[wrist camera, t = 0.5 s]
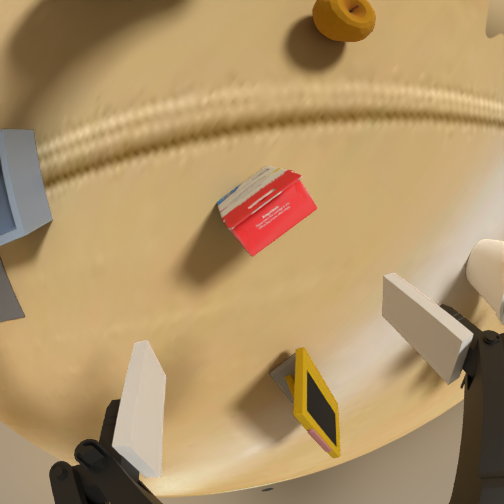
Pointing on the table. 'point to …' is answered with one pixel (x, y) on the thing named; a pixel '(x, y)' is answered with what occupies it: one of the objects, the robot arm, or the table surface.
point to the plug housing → (20, 186)
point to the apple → (344, 19)
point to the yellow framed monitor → (310, 400)
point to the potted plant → (488, 273)
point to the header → (8, 299)
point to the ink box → (265, 207)
